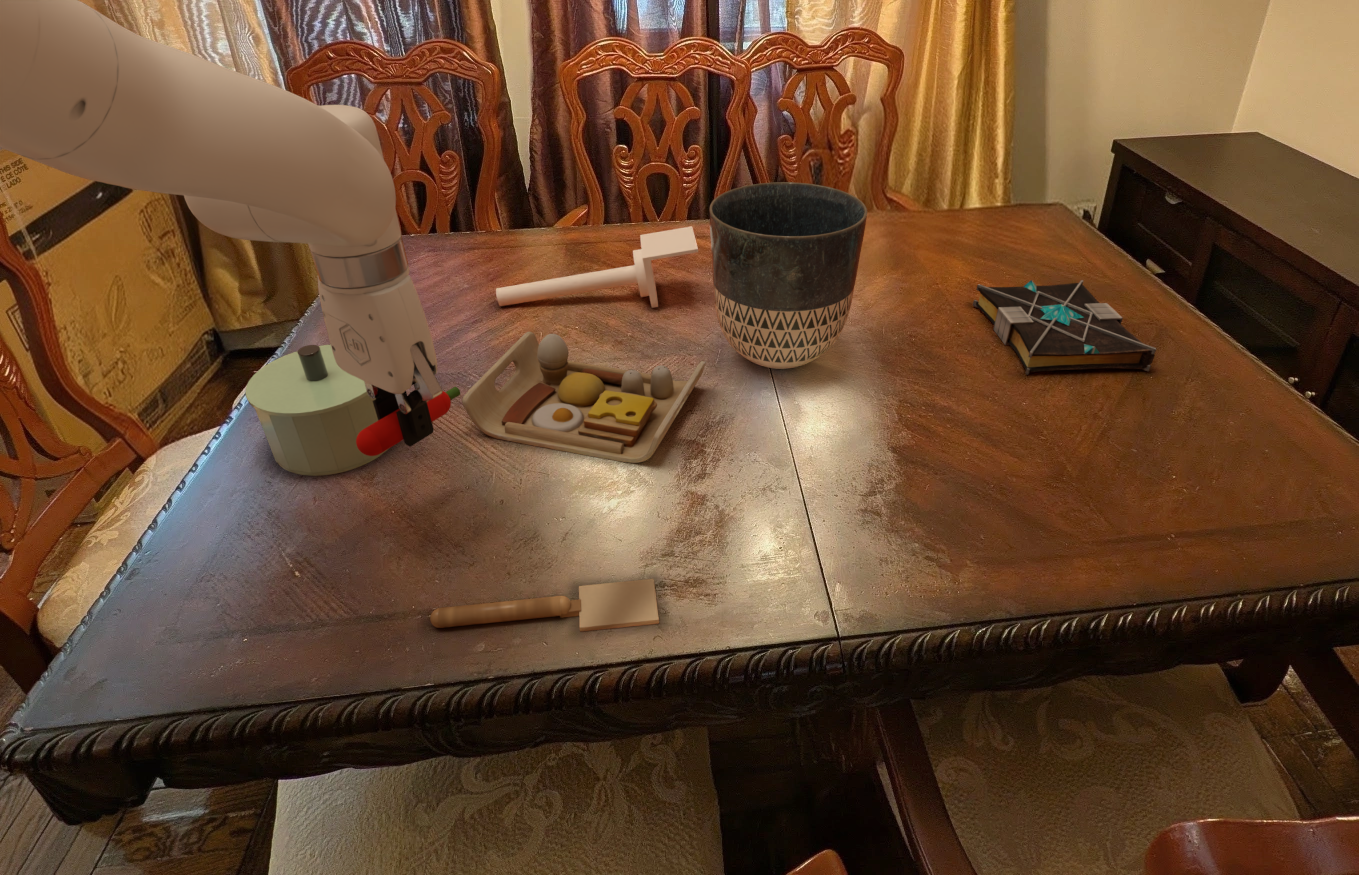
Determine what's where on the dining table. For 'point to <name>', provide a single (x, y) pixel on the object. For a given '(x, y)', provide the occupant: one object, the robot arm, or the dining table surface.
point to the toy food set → (576, 402)
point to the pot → (320, 439)
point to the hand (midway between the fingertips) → (407, 431)
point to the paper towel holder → (610, 271)
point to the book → (1061, 328)
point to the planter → (784, 268)
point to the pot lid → (303, 384)
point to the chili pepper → (398, 426)
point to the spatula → (566, 608)
